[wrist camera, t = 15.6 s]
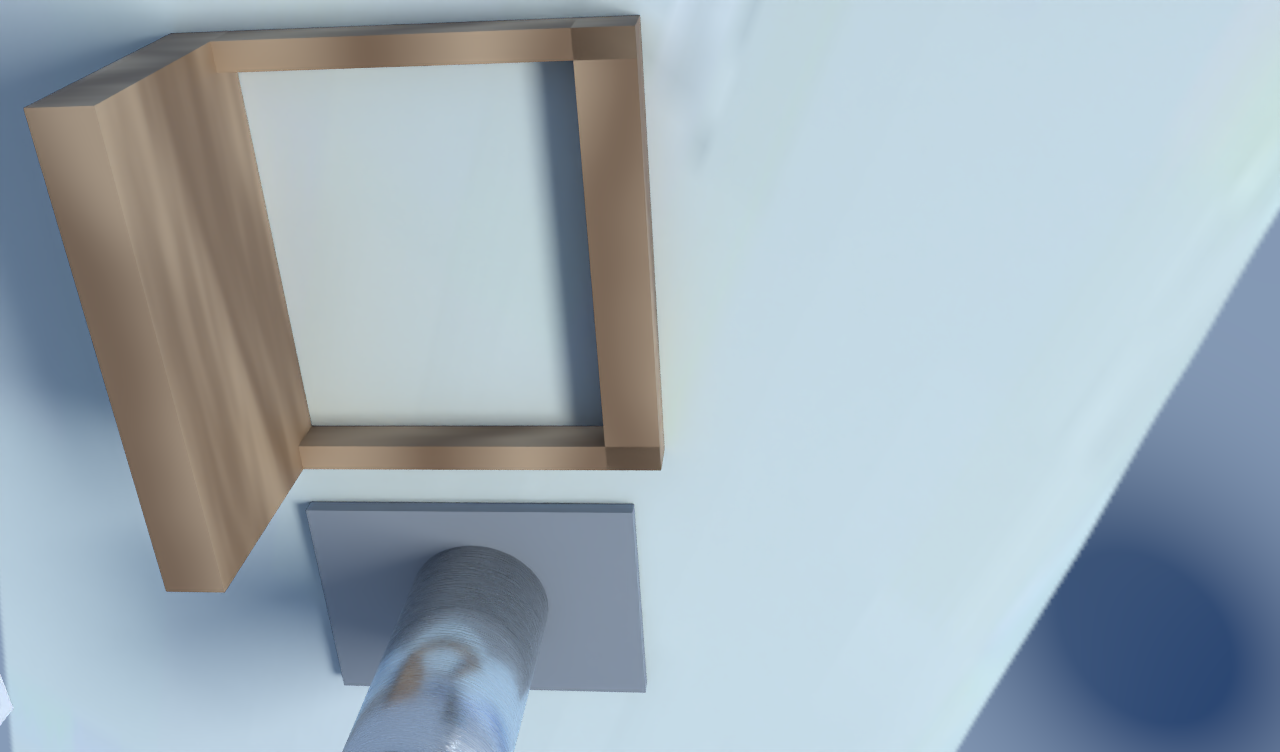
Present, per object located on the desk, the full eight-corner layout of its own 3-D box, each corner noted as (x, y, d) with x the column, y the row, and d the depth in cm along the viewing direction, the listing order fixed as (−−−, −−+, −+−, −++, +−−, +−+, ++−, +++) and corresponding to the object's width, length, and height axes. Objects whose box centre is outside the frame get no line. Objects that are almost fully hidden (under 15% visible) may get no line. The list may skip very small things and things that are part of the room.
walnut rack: (640, 15, 39) (604, 89, 31) (664, 449, 46) (641, 599, 38) (170, 33, 40) (23, 107, 32) (267, 448, 48) (165, 591, 40)
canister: (545, 543, 48) (480, 773, 37) (558, 660, 51) (502, 905, 40) (398, 542, 48) (294, 768, 38) (419, 657, 51) (328, 898, 41)
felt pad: (634, 504, 47) (632, 513, 47) (646, 682, 51) (645, 692, 51) (310, 502, 49) (305, 510, 48) (348, 675, 53) (344, 685, 52)
